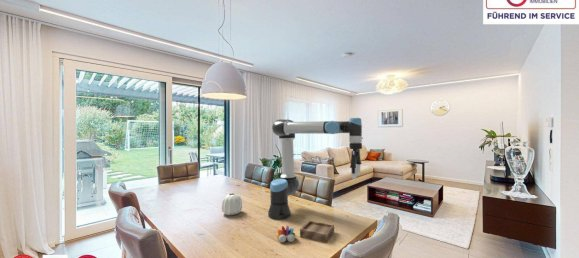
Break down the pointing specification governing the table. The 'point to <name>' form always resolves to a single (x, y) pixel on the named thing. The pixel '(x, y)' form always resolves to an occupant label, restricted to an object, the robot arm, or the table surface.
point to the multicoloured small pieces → (286, 234)
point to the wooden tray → (317, 231)
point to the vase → (231, 204)
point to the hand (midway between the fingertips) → (356, 176)
